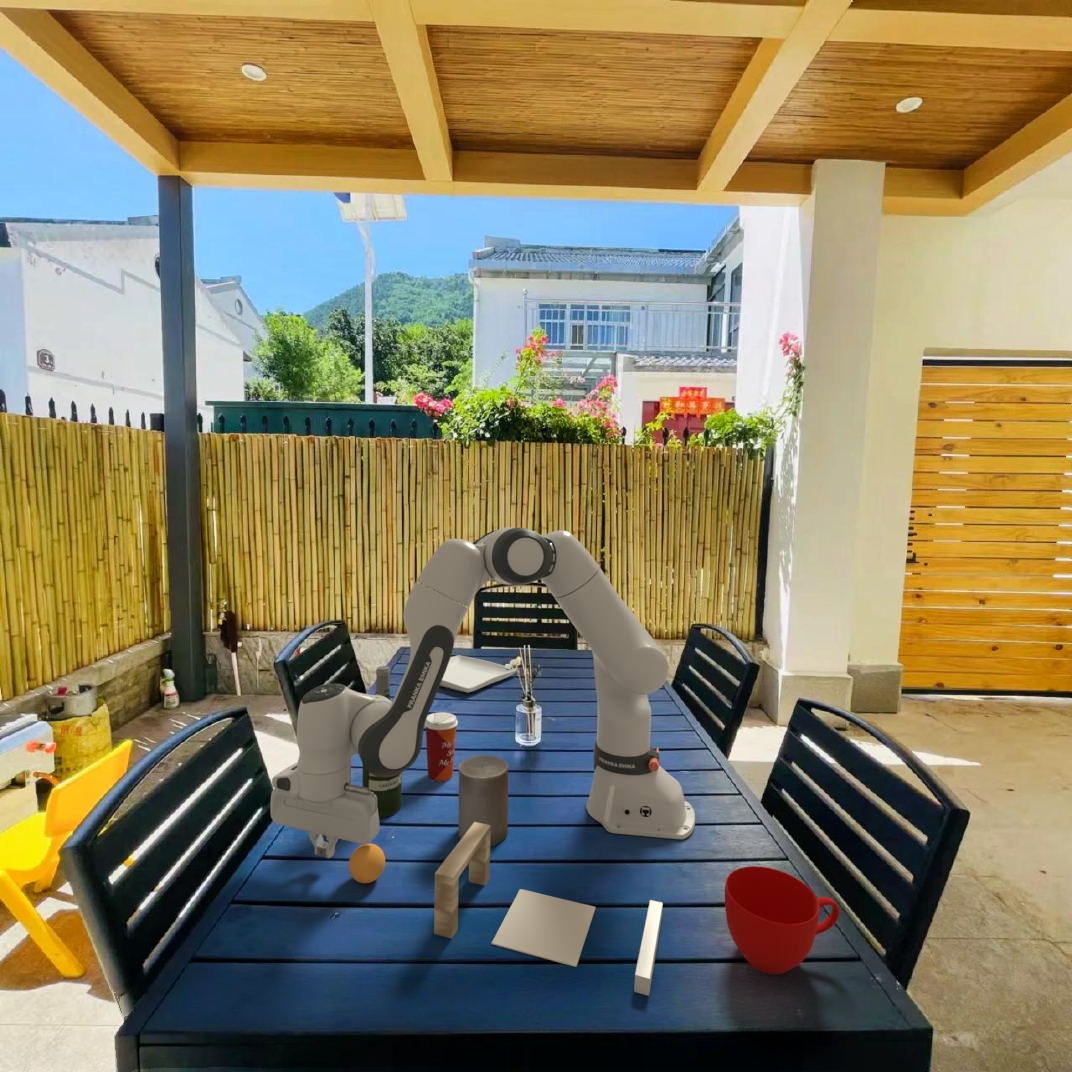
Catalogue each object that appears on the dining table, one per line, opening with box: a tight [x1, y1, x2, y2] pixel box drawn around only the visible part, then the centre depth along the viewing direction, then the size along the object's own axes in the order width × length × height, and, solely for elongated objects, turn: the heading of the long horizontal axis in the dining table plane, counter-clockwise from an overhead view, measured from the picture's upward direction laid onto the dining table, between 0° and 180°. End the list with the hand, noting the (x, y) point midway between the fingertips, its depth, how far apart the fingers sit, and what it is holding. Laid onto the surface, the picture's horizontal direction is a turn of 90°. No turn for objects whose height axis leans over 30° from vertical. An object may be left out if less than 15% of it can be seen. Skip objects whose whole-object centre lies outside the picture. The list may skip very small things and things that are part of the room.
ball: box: [348, 843, 386, 884], centre depth 106 cm, size 6×6×6 cm
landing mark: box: [491, 888, 597, 968], centre depth 97 cm, size 13×13×1 cm
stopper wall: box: [633, 899, 664, 997], centre depth 92 cm, size 2×16×2 cm, turn 162°
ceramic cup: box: [724, 865, 840, 976], centre depth 91 cm, size 13×17×10 cm
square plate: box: [439, 654, 518, 694], centre depth 213 cm, size 27×27×4 cm
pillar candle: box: [458, 754, 509, 847], centre depth 121 cm, size 10×10×15 cm
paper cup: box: [424, 711, 459, 782], centre depth 143 cm, size 8×8×14 cm
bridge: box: [433, 822, 491, 939], centre depth 100 cm, size 3×15×10 cm, turn 162°
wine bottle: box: [361, 665, 403, 819], centre depth 128 cm, size 8×8×30 cm
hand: (324, 854), depth 109 cm, fingers closed
